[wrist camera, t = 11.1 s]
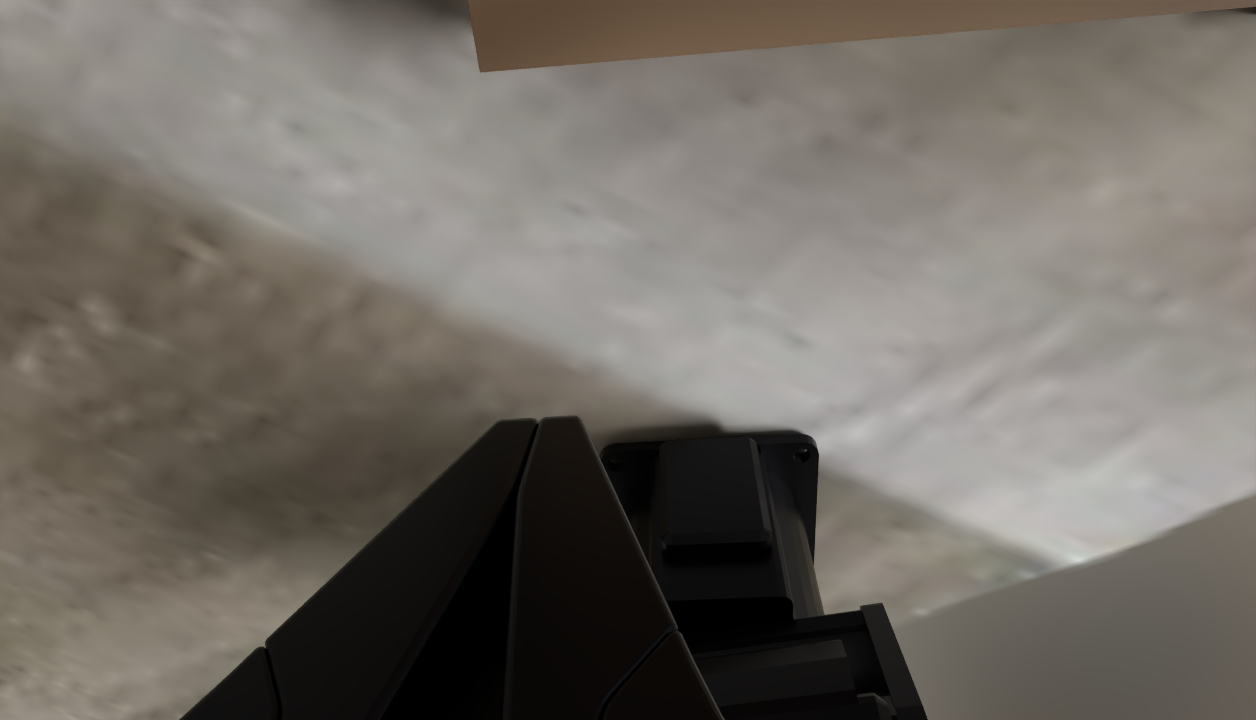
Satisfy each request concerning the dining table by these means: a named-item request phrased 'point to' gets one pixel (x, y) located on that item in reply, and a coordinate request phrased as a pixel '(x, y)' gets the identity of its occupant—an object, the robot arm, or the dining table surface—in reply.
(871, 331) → the dining table surface
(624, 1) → the slot block
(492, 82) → the dining table surface
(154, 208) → the dining table surface
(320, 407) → the dining table surface
